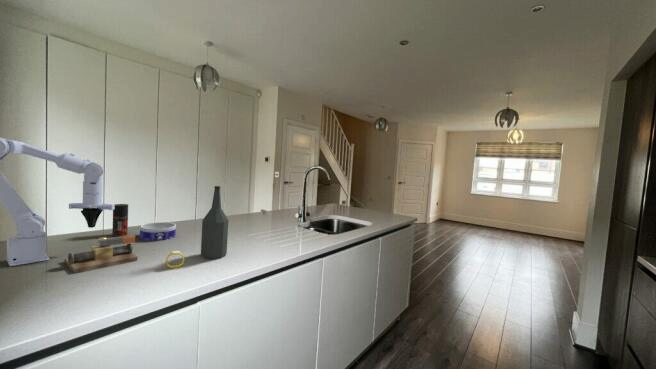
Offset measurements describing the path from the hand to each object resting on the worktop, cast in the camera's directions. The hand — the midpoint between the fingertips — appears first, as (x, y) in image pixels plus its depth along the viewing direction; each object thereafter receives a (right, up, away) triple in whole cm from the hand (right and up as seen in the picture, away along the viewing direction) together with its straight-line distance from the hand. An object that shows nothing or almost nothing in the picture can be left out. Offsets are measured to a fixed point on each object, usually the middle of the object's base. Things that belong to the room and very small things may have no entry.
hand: (91, 227), depth 109 cm
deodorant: (-9, -8, +26) cm, 28 cm away
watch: (+37, -14, -6) cm, 40 cm away
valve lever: (+13, -6, -4) cm, 15 cm away
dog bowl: (+9, -10, +28) cm, 31 cm away
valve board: (+10, -12, -7) cm, 17 cm away
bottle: (+45, -14, +8) cm, 48 cm away
